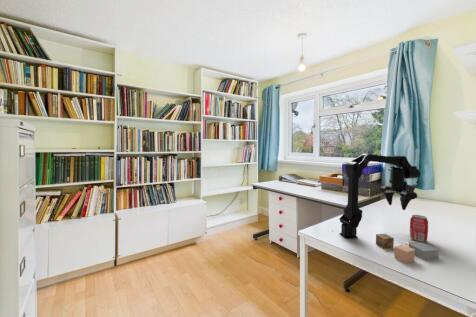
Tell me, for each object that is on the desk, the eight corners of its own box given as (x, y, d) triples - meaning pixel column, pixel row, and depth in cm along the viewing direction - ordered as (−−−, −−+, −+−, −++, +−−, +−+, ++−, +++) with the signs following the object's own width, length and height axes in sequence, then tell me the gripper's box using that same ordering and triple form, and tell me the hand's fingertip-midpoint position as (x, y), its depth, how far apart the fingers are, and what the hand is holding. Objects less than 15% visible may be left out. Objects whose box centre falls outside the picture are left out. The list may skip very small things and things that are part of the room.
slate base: (423, 260, 92) (423, 251, 92) (408, 252, 99) (409, 243, 98) (438, 258, 93) (438, 249, 92) (422, 251, 99) (422, 242, 99)
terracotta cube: (406, 263, 89) (407, 251, 89) (394, 257, 94) (394, 246, 94) (414, 261, 91) (414, 249, 91) (401, 255, 96) (402, 244, 95)
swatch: (416, 249, 100) (416, 248, 100) (403, 242, 107) (403, 241, 107) (430, 248, 101) (430, 247, 101) (416, 241, 108) (416, 240, 108)
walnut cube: (383, 249, 102) (383, 238, 101) (375, 244, 107) (376, 234, 106) (393, 248, 102) (393, 237, 102) (385, 243, 107) (385, 233, 107)
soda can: (418, 237, 113) (420, 214, 113) (431, 242, 106) (432, 218, 106) (405, 236, 113) (406, 214, 113) (417, 242, 106) (418, 218, 106)
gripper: (428, 181, 108) (426, 212, 109) (398, 176, 127) (397, 202, 128) (406, 182, 107) (405, 213, 108) (379, 176, 126) (379, 202, 127)
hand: (396, 207), depth 118 cm, fingers open, 9 cm apart
